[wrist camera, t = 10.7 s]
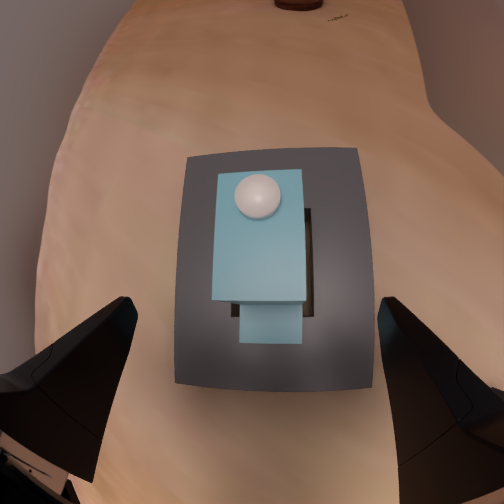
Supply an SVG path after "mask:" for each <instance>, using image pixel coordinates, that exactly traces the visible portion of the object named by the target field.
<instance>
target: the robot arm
mask: <svg viewBox="0 0 504 504" xmlns="http://www.w3.org/2000/svg"><path fill="white" fill-rule="evenodd" d="M137 320H138V313H137V310H136V308H135V306H134V304H133V302H132V300H131V298H130V297H123V296H121V297H119V298H117V299H116V300H114V301H113V302H111V303H110V304H108V305H107V306H105V307H104V308H102V309H101V310H99V311H98V312H96V313H95V314H94V315H92V316H91V317H89V318H88V319H86V320H85V321H83V322H82V323H81V324H79V325H78V326H76V327H75V328H73V329H72V330H71V331H69V332H68V333H66V334H65V335H64V336H62V337H61V338H59V339H58V340H57V341H55V342H54V343H52V344H51V345H50V346H48V347H47V348H45V349H44V350H43V351H41V352H40V353H38V354H37V355H35V356H34V357H32V358H31V359H29V360H28V361H26V362H24V363H23V364H21V365H20V366H18V367H16V368H15V369H14V370H12V371H10V372H8V373H6V374H0V504H80V501H79V499H78V497H77V495H76V492H75V490H74V487H73V485H72V482H71V480H69V479H67V478H68V475H69V473H70V474H73V475H75V476H77V477H79V478H81V479H83V480H85V481H88V482H90V483H92V482H93V479H94V474H95V469H96V465H97V460H98V456H99V452H100V448H101V444H102V439H103V435H104V432H105V428H106V424H107V421H108V417H109V414H110V410H111V407H112V403H113V400H114V397H115V393H116V390H117V387H118V384H119V381H120V378H121V375H122V372H123V369H124V366H125V363H126V360H127V357H128V354H129V351H130V347H131V343H132V339H133V335H134V331H135V327H136V323H137ZM377 322H378V330H379V338H380V347H381V356H382V363H383V368H384V373H385V378H386V383H387V389H388V394H389V400H390V406H391V412H392V419H393V426H394V434H395V442H396V451H397V462H398V477H399V499H400V504H504V400H503V399H502V398H501V397H500V396H499V395H498V394H497V393H496V392H494V391H493V390H492V389H491V388H490V387H489V386H488V385H487V384H485V383H484V382H483V381H482V380H481V379H480V378H479V377H478V376H477V375H476V374H475V373H474V372H473V371H472V370H471V369H470V368H468V367H467V366H466V365H465V363H464V362H463V361H462V360H461V359H459V358H458V356H457V355H456V354H455V353H454V352H453V351H452V350H451V349H450V348H449V347H448V346H447V345H446V344H445V343H444V342H442V341H441V340H440V339H439V338H438V337H437V336H436V335H435V334H434V333H433V332H432V331H431V330H430V329H429V328H428V327H427V326H426V325H425V324H424V323H423V322H422V321H421V320H419V319H418V318H417V317H416V316H415V315H414V314H413V313H412V312H411V311H410V310H409V309H408V308H406V307H405V306H404V305H403V304H402V303H401V302H400V301H399V300H398V299H396V298H395V297H384V298H383V299H382V301H381V304H380V308H379V312H378V316H377Z"/></svg>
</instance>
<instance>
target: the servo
mask: <svg viewBox="0 0 504 504" xmlns="http://www.w3.org/2000/svg"><path fill="white" fill-rule="evenodd" d="M212 300H214V301H220V302H227V303H233V304H240V329H239V343H262V344H302V305H303V304H304V302H305V301H306V250H305V222H304V201H303V184H302V169H292V170H267V171H250V172H236V173H223V174H218V184H217V199H216V214H215V232H214V252H213V276H212Z"/></svg>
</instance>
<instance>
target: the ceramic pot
mask: <svg viewBox="0 0 504 504" xmlns="http://www.w3.org/2000/svg"><path fill="white" fill-rule="evenodd" d="M274 1H275V4H276V6H277V7H278V8H281V9H285V10H293V11H308V10H314V9H316V8H318V7H319V6H320V5H321V4H322V2H323V0H274ZM347 15H348V14H346V15H345V16H344V17H346V16H347ZM342 17H343V16H340V17H336V18H335V19H334V20H337V19H339V18H342ZM332 20H333V19H332ZM328 21H331V20H328Z"/></svg>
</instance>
